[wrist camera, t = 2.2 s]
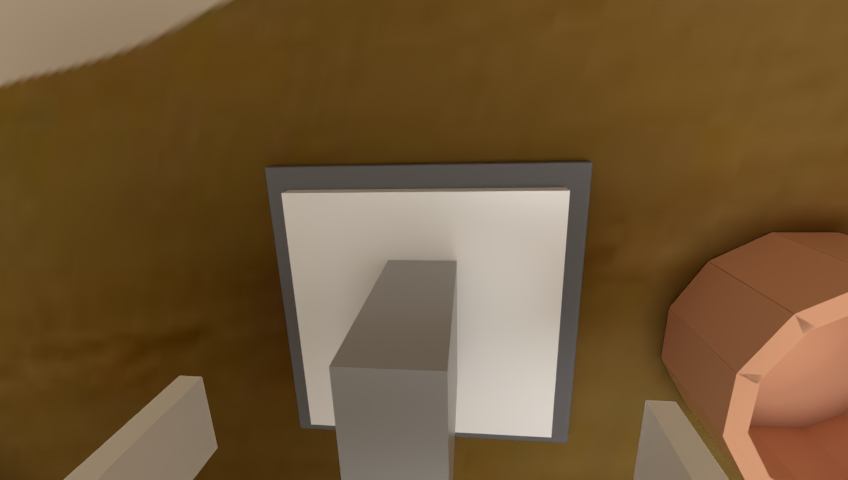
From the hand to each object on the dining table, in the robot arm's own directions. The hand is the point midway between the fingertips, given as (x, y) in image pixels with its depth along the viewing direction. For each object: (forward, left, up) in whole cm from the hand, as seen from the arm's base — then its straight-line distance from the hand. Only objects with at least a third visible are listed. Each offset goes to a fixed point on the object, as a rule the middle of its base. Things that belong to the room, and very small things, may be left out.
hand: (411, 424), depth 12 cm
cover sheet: (0, 0, -8) cm, 8 cm away
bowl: (+16, -1, -8) cm, 18 cm away
